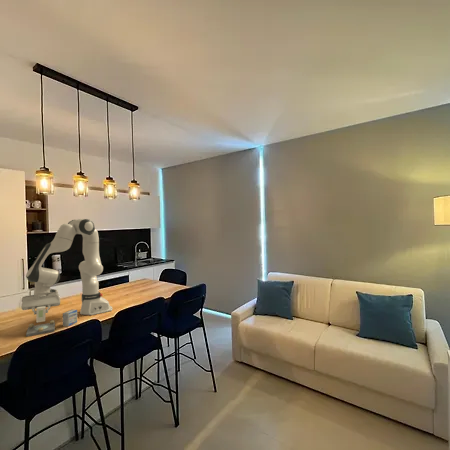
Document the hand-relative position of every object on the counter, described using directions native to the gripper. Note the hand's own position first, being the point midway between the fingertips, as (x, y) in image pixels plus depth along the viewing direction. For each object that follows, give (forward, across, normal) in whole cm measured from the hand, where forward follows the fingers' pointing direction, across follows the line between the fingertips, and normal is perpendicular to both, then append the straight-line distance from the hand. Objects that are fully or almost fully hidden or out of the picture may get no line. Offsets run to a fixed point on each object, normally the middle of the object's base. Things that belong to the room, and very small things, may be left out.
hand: (41, 313), depth 161 cm
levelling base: (+7, 0, +8) cm, 11 cm away
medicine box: (+6, +16, +10) cm, 19 cm away
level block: (+3, 0, +4) cm, 5 cm away
